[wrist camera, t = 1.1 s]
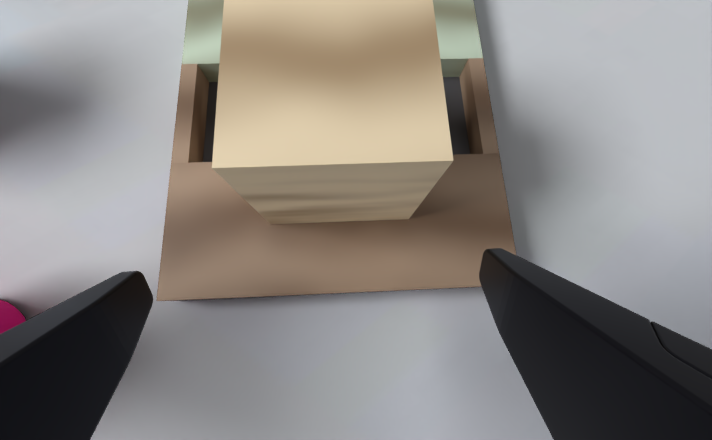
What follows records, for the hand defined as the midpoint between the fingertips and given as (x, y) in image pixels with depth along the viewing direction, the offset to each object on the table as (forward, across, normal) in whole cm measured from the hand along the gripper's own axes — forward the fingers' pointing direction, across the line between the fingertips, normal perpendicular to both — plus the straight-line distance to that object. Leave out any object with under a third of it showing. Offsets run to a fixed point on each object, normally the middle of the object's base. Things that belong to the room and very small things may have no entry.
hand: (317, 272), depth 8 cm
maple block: (+12, -1, +1) cm, 12 cm away
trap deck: (+16, -1, -1) cm, 16 cm away
